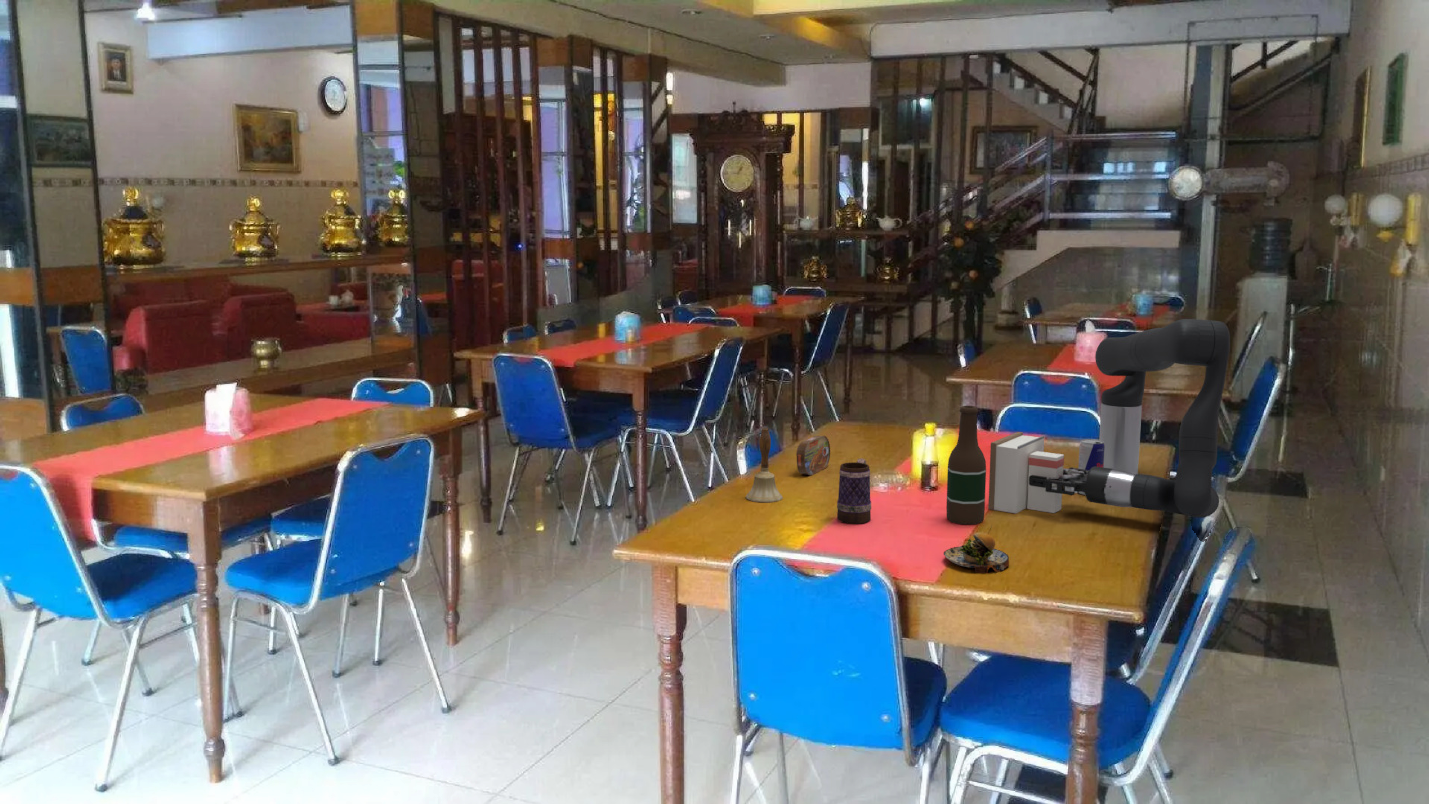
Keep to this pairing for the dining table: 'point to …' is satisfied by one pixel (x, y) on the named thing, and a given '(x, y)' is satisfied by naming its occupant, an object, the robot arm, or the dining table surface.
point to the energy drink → (1091, 454)
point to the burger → (979, 554)
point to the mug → (854, 493)
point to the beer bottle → (966, 473)
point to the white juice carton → (1045, 467)
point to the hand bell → (764, 475)
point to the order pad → (1011, 471)
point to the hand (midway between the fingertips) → (1037, 476)
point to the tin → (813, 455)
